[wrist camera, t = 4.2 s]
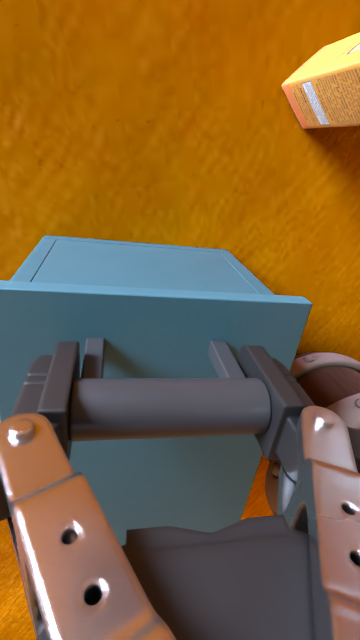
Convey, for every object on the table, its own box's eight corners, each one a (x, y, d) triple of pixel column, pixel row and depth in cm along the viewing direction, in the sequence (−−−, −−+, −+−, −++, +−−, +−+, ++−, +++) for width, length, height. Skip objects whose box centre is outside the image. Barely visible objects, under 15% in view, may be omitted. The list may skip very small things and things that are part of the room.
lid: (-13, 279, 12) (-95, 365, 7) (303, 296, 15) (392, 367, 10) (25, 547, 20) (-4, 675, 15) (230, 526, 22) (261, 629, 18)
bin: (44, 234, 22) (-10, 303, 13) (227, 249, 25) (297, 315, 15) (54, 415, 29) (25, 546, 20) (196, 411, 32) (230, 525, 22)
